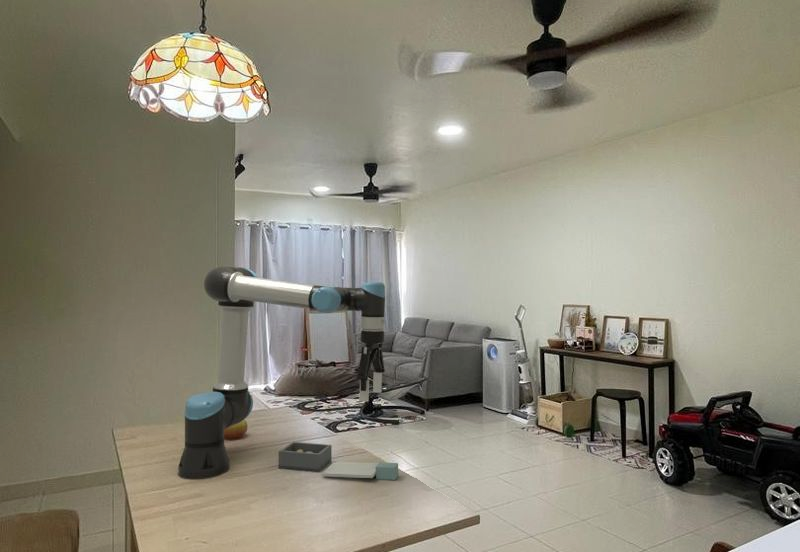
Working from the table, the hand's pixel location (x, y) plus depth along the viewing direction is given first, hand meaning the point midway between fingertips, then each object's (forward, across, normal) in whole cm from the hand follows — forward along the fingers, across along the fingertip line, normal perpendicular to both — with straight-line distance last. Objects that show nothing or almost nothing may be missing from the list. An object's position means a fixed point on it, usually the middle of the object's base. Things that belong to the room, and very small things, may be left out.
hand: (370, 396), depth 159 cm
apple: (+24, +18, +61) cm, 68 cm away
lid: (+23, -6, 0) cm, 24 cm away
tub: (+23, -2, +21) cm, 31 cm away
